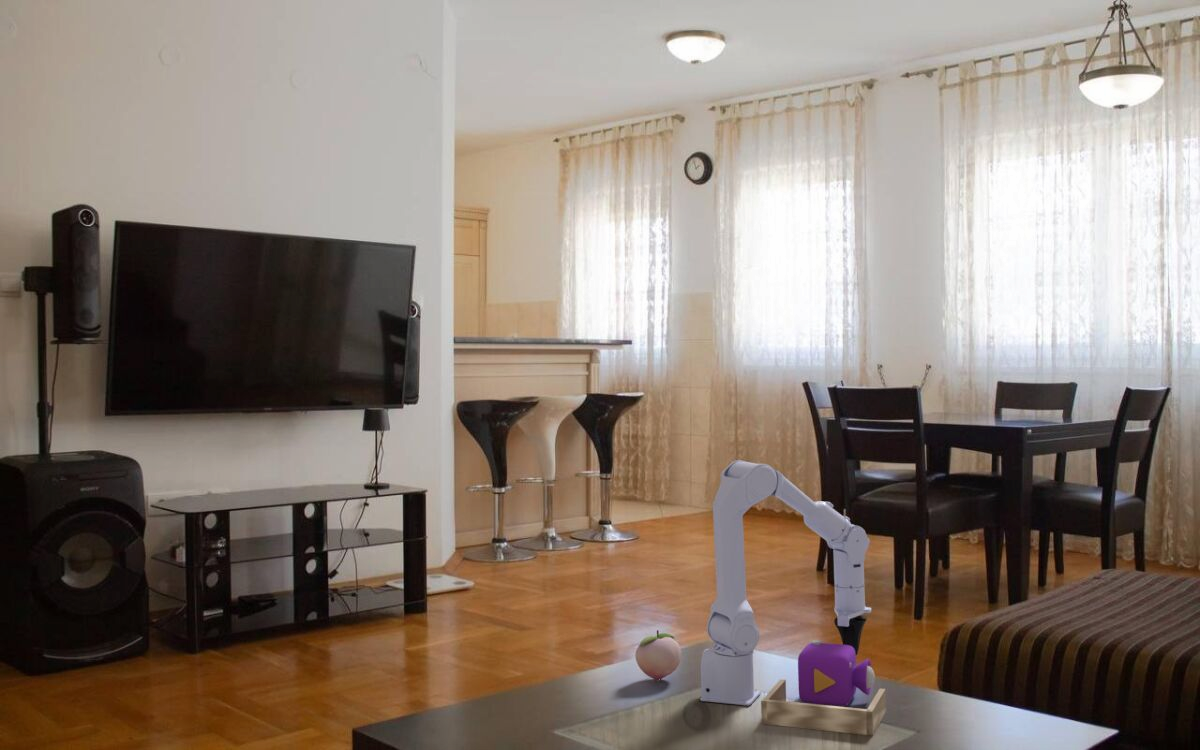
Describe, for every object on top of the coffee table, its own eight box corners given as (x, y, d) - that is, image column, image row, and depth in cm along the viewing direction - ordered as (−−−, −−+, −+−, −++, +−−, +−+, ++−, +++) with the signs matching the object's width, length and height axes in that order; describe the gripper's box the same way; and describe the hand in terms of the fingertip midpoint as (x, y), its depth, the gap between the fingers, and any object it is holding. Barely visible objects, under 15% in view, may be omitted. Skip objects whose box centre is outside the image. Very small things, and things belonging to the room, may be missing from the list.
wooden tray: (761, 723, 193) (761, 700, 193) (780, 701, 205) (780, 679, 205) (872, 735, 185) (872, 711, 185) (886, 711, 197) (885, 688, 197)
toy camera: (876, 710, 198) (875, 654, 198) (798, 708, 201) (797, 653, 201) (874, 691, 209) (872, 638, 208) (800, 689, 211) (798, 637, 211)
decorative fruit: (663, 690, 213) (661, 638, 213) (629, 683, 219) (628, 633, 218) (691, 678, 221) (689, 628, 221) (657, 671, 226) (656, 622, 226)
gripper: (863, 594, 209) (865, 666, 209) (876, 578, 222) (878, 646, 222) (825, 592, 212) (828, 663, 212) (841, 576, 225) (843, 643, 225)
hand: (851, 654), depth 217 cm, fingers closed
